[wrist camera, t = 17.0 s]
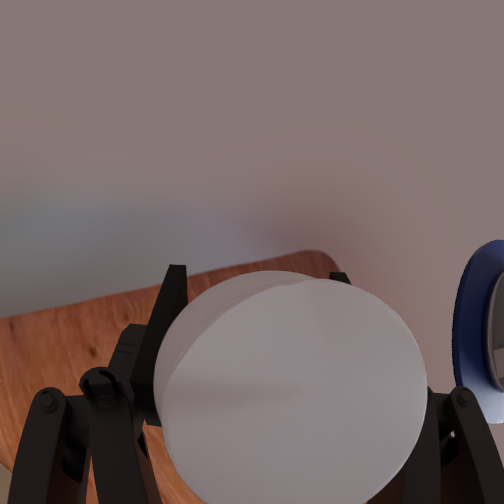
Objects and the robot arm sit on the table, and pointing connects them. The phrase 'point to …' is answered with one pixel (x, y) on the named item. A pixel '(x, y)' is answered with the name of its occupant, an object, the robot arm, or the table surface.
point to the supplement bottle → (289, 391)
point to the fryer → (4, 483)
